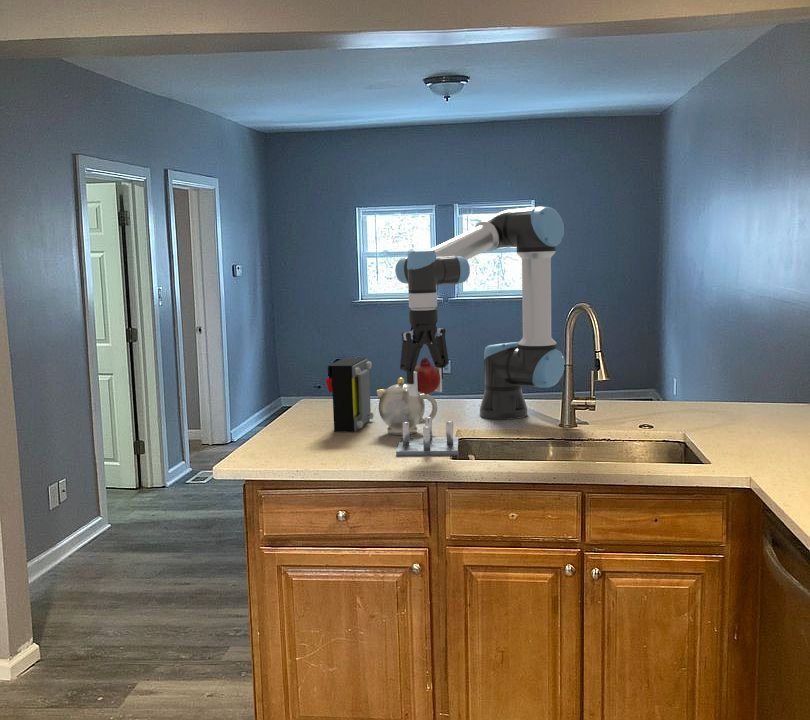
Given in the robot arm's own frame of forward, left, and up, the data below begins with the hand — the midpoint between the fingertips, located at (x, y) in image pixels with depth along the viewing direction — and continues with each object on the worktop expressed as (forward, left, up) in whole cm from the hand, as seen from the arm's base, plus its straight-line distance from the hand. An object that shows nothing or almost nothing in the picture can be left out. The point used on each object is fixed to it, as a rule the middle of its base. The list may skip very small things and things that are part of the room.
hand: (425, 393), depth 227 cm
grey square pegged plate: (0, 0, -15) cm, 15 cm away
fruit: (0, 0, 0) cm, 0 cm away
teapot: (+7, -20, -15) cm, 26 cm away
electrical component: (+25, -31, -15) cm, 42 cm away
